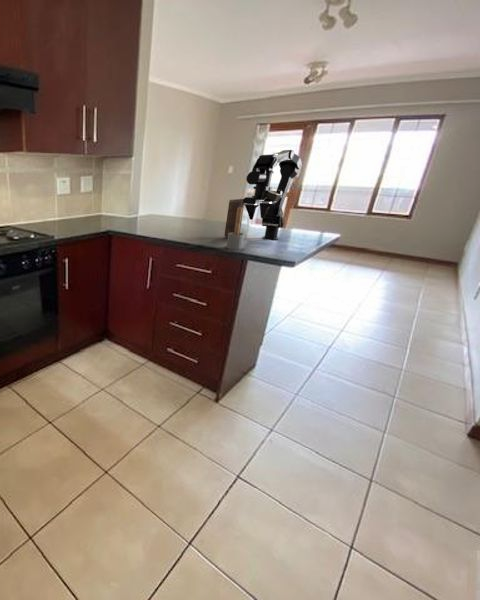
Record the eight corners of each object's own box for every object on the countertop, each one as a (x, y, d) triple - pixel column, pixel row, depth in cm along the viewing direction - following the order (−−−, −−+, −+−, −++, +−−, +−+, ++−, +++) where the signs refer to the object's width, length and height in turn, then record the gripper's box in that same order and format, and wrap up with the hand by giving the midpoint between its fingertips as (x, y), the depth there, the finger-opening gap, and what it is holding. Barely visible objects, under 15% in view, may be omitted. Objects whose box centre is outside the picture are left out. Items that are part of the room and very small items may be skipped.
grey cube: (227, 246, 159) (229, 232, 157) (243, 247, 156) (245, 232, 154) (225, 249, 154) (227, 234, 151) (241, 251, 151) (243, 235, 148)
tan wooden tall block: (239, 240, 172) (245, 199, 164) (224, 239, 174) (229, 199, 166) (238, 237, 179) (243, 198, 171) (223, 236, 181) (228, 198, 173)
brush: (231, 246, 157) (236, 207, 150) (239, 247, 155) (244, 207, 149) (230, 248, 154) (235, 208, 148) (238, 248, 153) (243, 208, 146)
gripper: (269, 184, 142) (262, 222, 147) (291, 184, 151) (284, 219, 157) (244, 184, 151) (239, 219, 156) (267, 183, 160) (261, 217, 166)
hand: (256, 218), depth 158 cm, fingers open, 9 cm apart
